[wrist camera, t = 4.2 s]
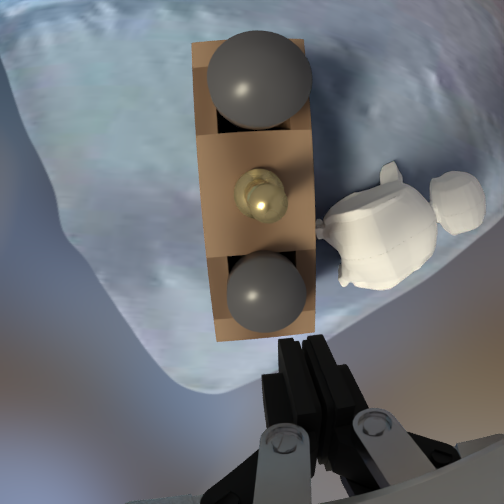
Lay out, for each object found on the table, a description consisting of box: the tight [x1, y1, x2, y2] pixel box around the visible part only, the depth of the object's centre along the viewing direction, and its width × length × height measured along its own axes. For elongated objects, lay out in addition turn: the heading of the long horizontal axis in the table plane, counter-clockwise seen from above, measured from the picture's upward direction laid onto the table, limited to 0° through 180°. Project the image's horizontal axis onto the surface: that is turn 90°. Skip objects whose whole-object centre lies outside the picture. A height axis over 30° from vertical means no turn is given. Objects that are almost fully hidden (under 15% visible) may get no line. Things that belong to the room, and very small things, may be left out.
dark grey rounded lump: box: [227, 250, 307, 333], centre depth 23 cm, size 5×5×9 cm
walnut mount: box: [192, 39, 316, 342], centre depth 23 cm, size 7×20×8 cm, turn 4°
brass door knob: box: [234, 169, 288, 223], centre depth 17 cm, size 3×3×5 cm
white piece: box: [315, 161, 486, 290], centre depth 25 cm, size 9×8×15 cm
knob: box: [207, 31, 312, 130], centre depth 17 cm, size 5×5×9 cm
